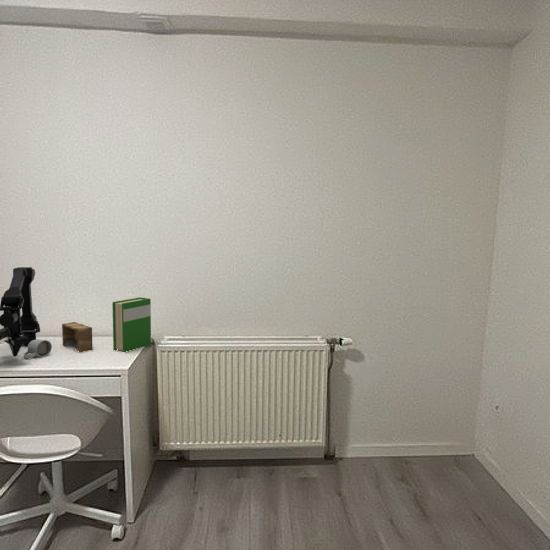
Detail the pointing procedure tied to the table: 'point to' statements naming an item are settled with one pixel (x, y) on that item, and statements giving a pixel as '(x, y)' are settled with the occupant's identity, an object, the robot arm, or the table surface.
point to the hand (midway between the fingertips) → (14, 356)
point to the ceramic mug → (38, 348)
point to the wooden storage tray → (77, 336)
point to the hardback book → (131, 323)
